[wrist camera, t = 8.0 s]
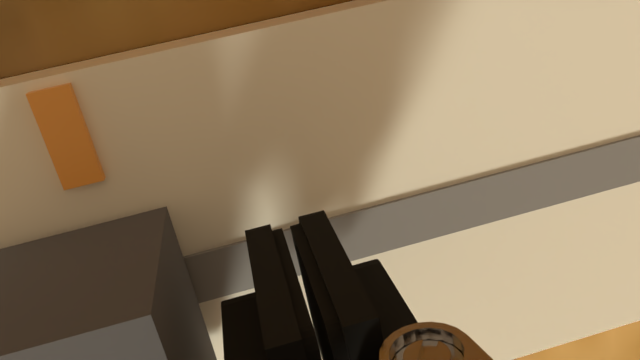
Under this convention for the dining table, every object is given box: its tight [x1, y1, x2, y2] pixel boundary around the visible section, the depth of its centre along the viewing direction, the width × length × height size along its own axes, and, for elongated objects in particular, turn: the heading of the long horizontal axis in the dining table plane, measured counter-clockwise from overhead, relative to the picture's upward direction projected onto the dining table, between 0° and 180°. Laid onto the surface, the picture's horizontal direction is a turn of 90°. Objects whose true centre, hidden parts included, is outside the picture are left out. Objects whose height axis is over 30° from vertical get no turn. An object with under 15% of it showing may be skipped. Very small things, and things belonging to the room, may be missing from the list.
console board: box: [0, 0, 640, 360], centre depth 14 cm, size 24×10×2 cm, turn 100°
